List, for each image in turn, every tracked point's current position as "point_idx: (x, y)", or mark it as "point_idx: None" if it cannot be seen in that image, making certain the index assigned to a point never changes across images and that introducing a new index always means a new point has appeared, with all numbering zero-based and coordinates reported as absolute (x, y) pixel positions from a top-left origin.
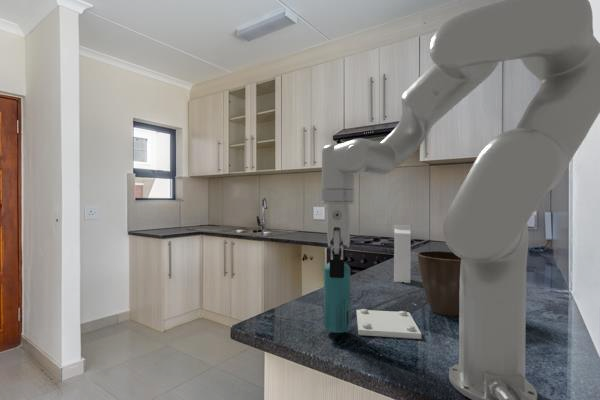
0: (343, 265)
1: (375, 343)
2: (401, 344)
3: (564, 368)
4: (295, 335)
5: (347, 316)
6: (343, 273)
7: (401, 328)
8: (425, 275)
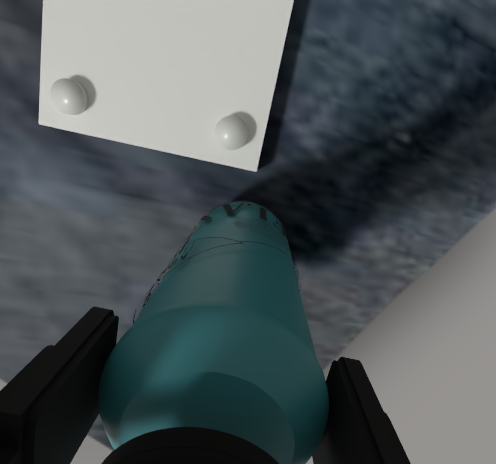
0: (393, 440)
1: (325, 129)
2: (344, 34)
3: None
4: None
5: (285, 233)
6: (367, 382)
7: None
8: None
